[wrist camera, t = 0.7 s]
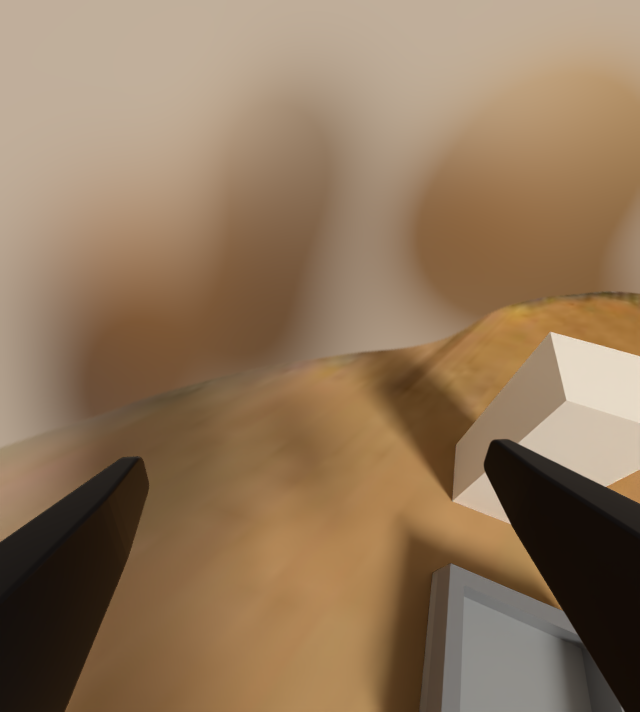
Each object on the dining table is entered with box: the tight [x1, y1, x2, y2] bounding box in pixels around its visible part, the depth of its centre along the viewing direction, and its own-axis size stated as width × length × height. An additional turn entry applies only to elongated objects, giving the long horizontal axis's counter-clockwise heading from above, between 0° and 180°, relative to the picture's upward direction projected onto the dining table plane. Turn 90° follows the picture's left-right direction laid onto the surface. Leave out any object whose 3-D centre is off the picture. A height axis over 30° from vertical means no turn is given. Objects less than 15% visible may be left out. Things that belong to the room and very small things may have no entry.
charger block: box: [452, 332, 640, 524], centre depth 20 cm, size 5×5×13 cm
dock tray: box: [419, 563, 624, 712], centre depth 15 cm, size 9×9×3 cm
